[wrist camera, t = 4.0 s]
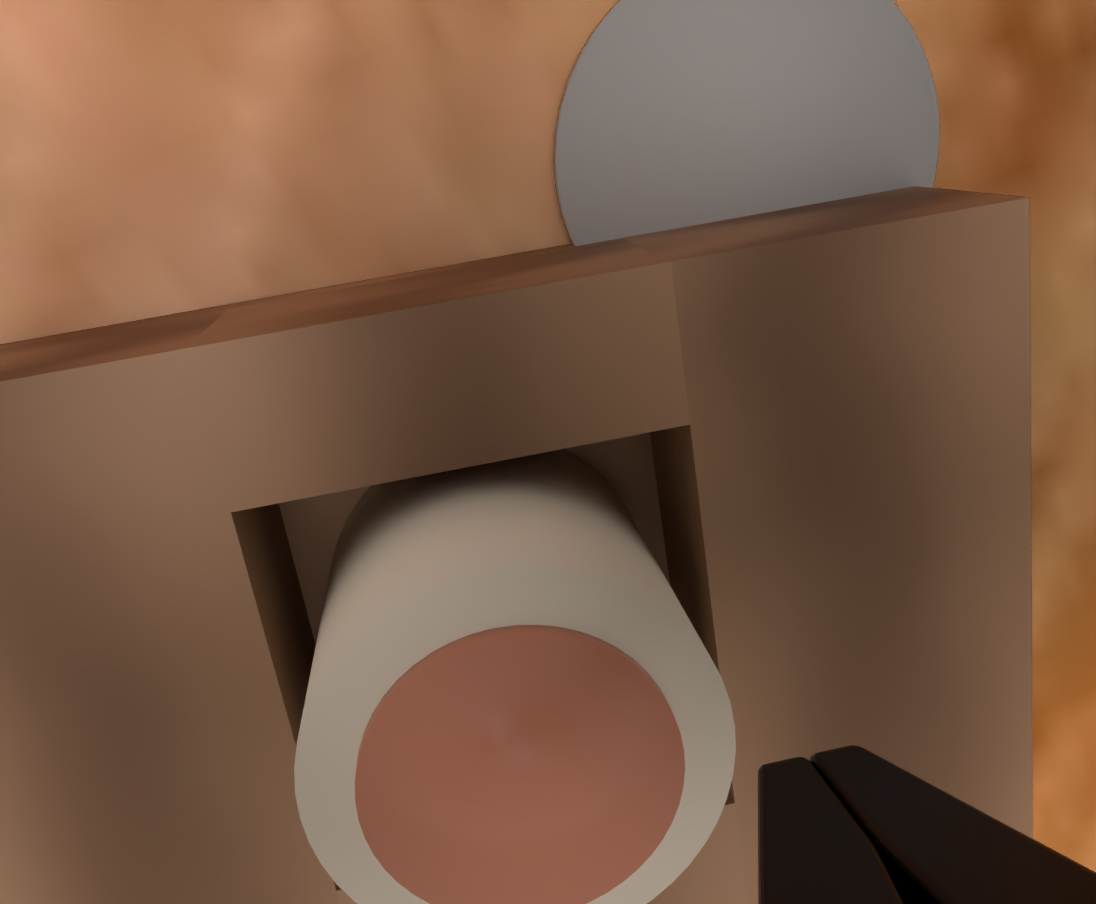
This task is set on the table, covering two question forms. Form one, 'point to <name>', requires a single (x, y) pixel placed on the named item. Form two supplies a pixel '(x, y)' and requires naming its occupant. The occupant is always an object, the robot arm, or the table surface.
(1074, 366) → the table surface
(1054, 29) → the table surface
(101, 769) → the brown wooden block
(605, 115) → the mat
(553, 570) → the cream short cylinder
